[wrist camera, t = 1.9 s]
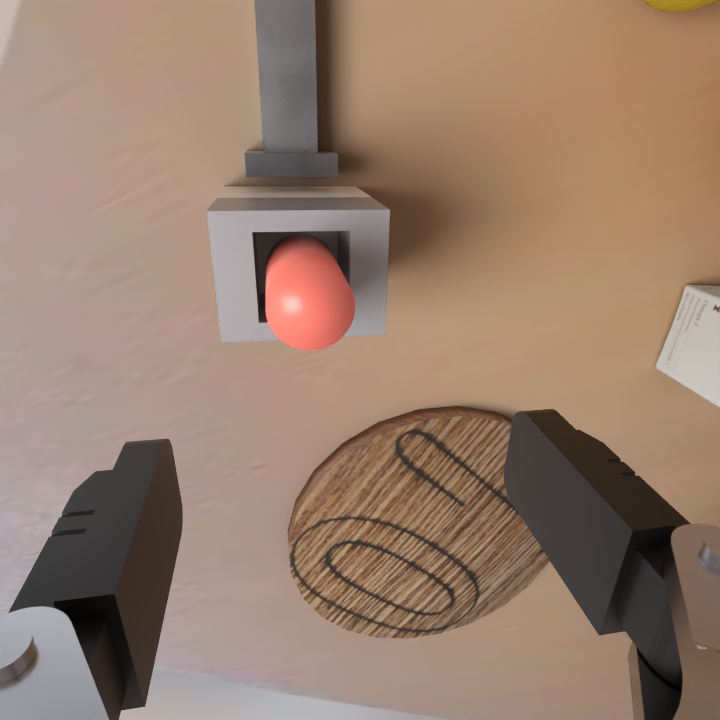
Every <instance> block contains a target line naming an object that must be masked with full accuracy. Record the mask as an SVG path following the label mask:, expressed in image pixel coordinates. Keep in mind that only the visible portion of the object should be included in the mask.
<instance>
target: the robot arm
mask: <svg viewBox="0 0 720 720" xmlns="http://www.w3.org/2000/svg"><path fill="white" fill-rule="evenodd" d="M504 484H505V489H506V492H507V495H508V497H509V499H510V501H511V503H512V504H513V506H514V507H515V509H516V510H517V512H518V513H519V515H520V516H521V518H522V519H523V521H524V522H525V524H526V525H527V527H528V528H529V530H530V531H531V533H532V534H533V536H534V537H535V539H536V540H537V542H538V543H539V545H540V546H541V548H542V550H543V551H544V553H545V554H546V556H547V557H548V559H549V560H550V562H551V563H552V565H553V566H554V568H555V569H556V571H557V572H558V574H559V575H560V577H561V578H562V580H563V581H564V583H565V584H566V586H567V587H568V589H569V590H570V592H571V593H572V595H573V597H574V598H575V600H576V601H577V603H578V604H579V606H580V607H581V609H582V610H583V612H584V613H585V615H586V616H587V618H588V619H589V621H590V622H591V624H592V625H593V627H594V628H595V630H596V631H597V633H598V634H599V635H604V634H610V633H616V632H623V631H626V633H627V634H628V635H629V637H630V638H631V640H632V641H633V642H632V644H631V647H630V650H629V654H628V661H629V672H630V682H631V692H632V703H633V713H634V720H720V528H718V527H714V526H709V525H704V524H690V523H689V522H688V521H687V520H686V519H685V518H684V517H683V516H682V515H681V514H679V513H678V512H677V511H676V510H675V509H674V508H673V507H672V506H671V505H670V504H669V503H668V502H666V501H665V500H664V499H663V498H662V497H661V496H660V495H659V494H658V493H657V492H656V491H655V490H654V489H652V488H651V487H650V486H649V485H648V484H647V483H646V482H645V481H644V480H643V479H642V478H641V477H640V476H635V472H634V471H633V470H632V469H631V468H630V467H629V466H628V465H627V464H625V463H624V462H621V461H620V458H619V457H618V456H617V455H616V454H615V453H614V452H613V451H611V450H610V449H609V448H608V447H607V446H606V445H605V444H604V443H603V442H601V441H599V440H597V439H595V438H593V437H592V436H590V435H588V434H586V433H584V432H582V431H581V430H576V429H575V428H574V427H573V426H572V425H571V424H569V423H568V422H567V421H566V420H565V419H564V418H563V417H562V416H561V415H560V414H559V413H558V412H557V411H556V410H553V409H545V410H532V411H520V412H517V413H516V414H515V415H514V417H513V420H512V425H511V431H510V437H509V443H508V449H507V455H506V461H505V467H504ZM182 518H183V516H182V502H181V496H180V490H179V484H178V479H177V473H176V467H175V461H174V455H173V450H172V445H171V442H170V440H169V439H158V440H145V441H133V442H126V443H125V445H124V446H123V448H122V451H121V453H120V455H119V457H118V459H117V462H116V464H115V466H114V468H113V470H106V471H96V472H95V473H93V474H92V475H91V476H90V477H89V478H88V479H87V480H86V481H84V482H83V483H82V484H81V485H80V486H79V487H78V488H77V489H75V490H74V491H73V493H72V495H71V497H70V499H69V501H68V503H67V504H66V506H65V508H64V510H63V512H62V517H61V518H59V519H58V521H57V523H56V525H55V527H54V529H53V531H52V537H49V538H48V540H47V542H46V544H45V546H44V547H43V549H42V551H41V553H40V555H39V557H38V559H37V560H36V562H35V564H34V566H33V568H32V570H31V572H30V574H29V575H28V577H27V579H26V581H25V583H24V585H23V587H22V589H21V590H20V592H19V594H18V596H17V598H16V600H15V602H14V603H13V605H12V607H11V609H10V611H9V613H8V614H5V615H3V616H1V617H0V720H119V716H120V712H121V710H126V709H132V708H139V707H145V704H146V699H147V695H148V690H149V685H150V680H151V676H152V671H153V667H154V662H155V657H156V652H157V648H158V643H159V638H160V633H161V629H162V624H163V619H164V614H165V610H166V605H167V600H168V595H169V591H170V586H171V581H172V576H173V572H174V567H175V562H176V557H177V553H178V548H179V543H180V539H181V533H182Z"/></svg>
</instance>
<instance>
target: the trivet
mask: <svg viewBox="0 0 720 720" xmlns="http://www.w3.org/2000/svg"><path fill="white" fill-rule="evenodd" d="M511 425H512V420H510V419H508V418H506V417H503V416H501V415H499V414H497V413H495V412H491V411H485V410H479V409H473V408H466V407H460V406H453V407H441V408H430V409H418V410H415V411H412V412H409V413H406V414H402V415H399V416H396V417H393V418H390V419H387V420H384V421H381V422H378V423H376V424H374V425H373V426H371V427H369V428H368V429H366V430H364V431H363V432H361V433H359V434H357V435H356V436H354V437H352V438H351V439H349V440H347V441H345V442H344V443H342V444H341V445H340V446H339V447H338V448H337V449H336V450H335V451H334V452H333V453H332V454H331V455H330V456H329V457H328V458H327V459H326V460H324V461H323V462H322V463H321V464H320V465H319V466H318V467H317V468H316V469H315V470H314V472H313V473H312V475H311V477H310V478H309V480H308V481H307V483H306V485H305V486H304V488H303V489H302V491H301V493H300V494H299V496H298V497H297V499H296V502H295V506H294V509H293V513H292V517H291V521H290V524H289V528H288V541H289V555H290V568H291V574H292V576H293V578H294V580H295V583H296V585H297V587H298V589H299V591H300V593H301V595H302V597H303V599H304V600H305V601H306V602H308V603H309V604H310V605H311V606H312V607H313V608H314V609H315V610H316V611H317V612H318V613H319V614H320V615H321V616H322V617H323V618H325V619H327V620H329V621H331V622H332V623H334V624H336V625H338V626H340V627H342V628H344V629H346V630H348V631H352V632H356V633H360V634H365V635H369V636H373V637H377V638H414V637H420V636H427V635H433V634H439V633H443V632H446V631H449V630H452V629H455V628H458V627H461V626H464V625H467V624H470V623H473V622H474V621H476V620H478V619H480V618H482V617H484V616H486V615H487V614H489V613H491V612H493V611H495V610H497V609H498V608H500V607H502V606H503V605H505V604H506V603H507V602H508V601H510V600H511V599H512V598H513V597H515V596H516V595H517V594H519V593H520V592H521V591H522V590H524V589H525V588H526V587H527V586H528V585H529V584H530V583H531V582H532V581H533V579H534V578H535V577H536V576H537V575H538V574H539V572H540V571H541V570H542V569H543V568H544V567H545V565H546V564H547V563H548V561H549V559H548V557H547V556H546V554H545V553H544V551H543V550H542V548H541V546H540V545H539V543H538V542H537V540H536V539H535V537H534V536H533V534H532V533H531V531H530V530H529V528H528V527H527V525H526V524H525V522H524V521H523V519H522V518H521V516H520V515H519V513H518V512H517V510H516V509H515V507H514V506H513V504H512V503H511V501H510V499H509V497H508V495H507V492H506V489H505V484H504V467H505V461H506V455H507V449H508V443H509V437H510V431H511Z"/></svg>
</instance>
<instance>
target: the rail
mask: <svg viewBox="0 0 720 720" xmlns="http://www.w3.org/2000/svg"><path fill="white" fill-rule="evenodd" d="M255 14H256V31H257V47H258V63H259V80H260V96H261V113H262V129H263V146H264V151H246V152H245V164H246V177H338V154H337V153H334V152H331V151H318V136H317V81H316V27H315V0H255Z"/></svg>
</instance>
